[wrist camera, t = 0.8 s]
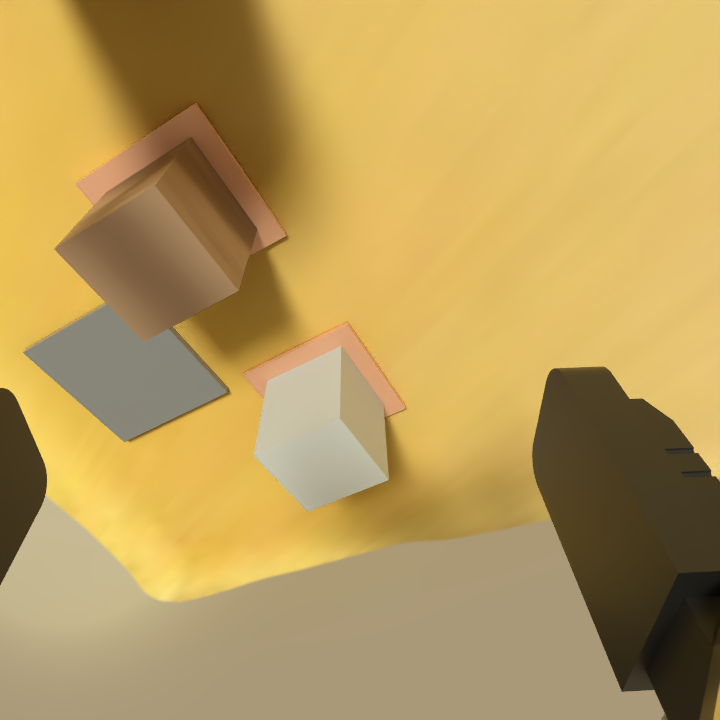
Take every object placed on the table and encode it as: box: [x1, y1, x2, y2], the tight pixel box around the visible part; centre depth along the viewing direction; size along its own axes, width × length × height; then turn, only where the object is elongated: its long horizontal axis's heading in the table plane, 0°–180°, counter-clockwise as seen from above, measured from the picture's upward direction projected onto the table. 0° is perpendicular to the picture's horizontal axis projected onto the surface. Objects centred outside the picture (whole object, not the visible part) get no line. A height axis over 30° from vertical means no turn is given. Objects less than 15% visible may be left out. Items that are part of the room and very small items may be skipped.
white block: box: [254, 346, 389, 511], centre depth 32 cm, size 5×5×6 cm
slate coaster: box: [23, 303, 228, 442], centre depth 34 cm, size 8×8×1 cm
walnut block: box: [55, 137, 257, 342], centre depth 25 cm, size 5×5×6 cm
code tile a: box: [75, 103, 287, 256], centre depth 28 cm, size 7×7×1 cm
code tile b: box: [243, 322, 406, 418], centre depth 35 cm, size 7×7×1 cm
